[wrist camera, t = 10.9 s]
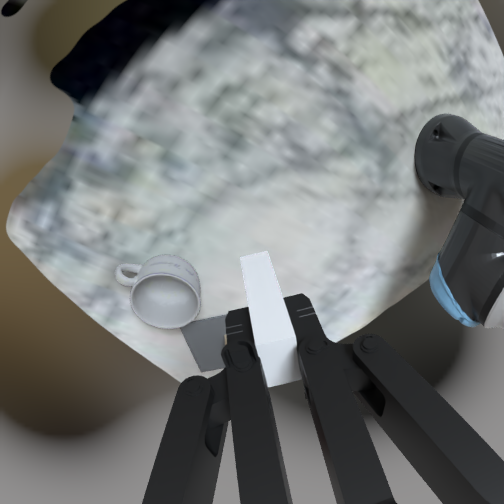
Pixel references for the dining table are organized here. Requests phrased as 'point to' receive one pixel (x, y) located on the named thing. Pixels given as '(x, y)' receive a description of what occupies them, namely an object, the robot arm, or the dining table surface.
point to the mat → (206, 341)
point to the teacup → (163, 291)
